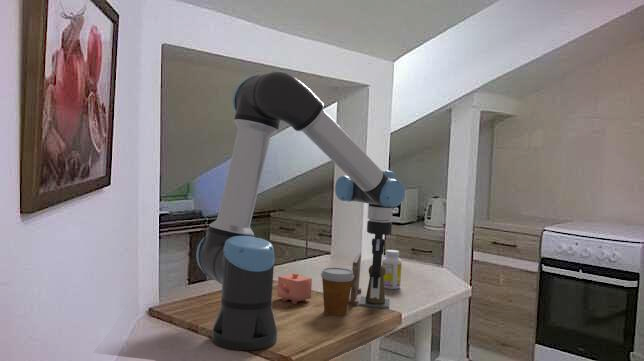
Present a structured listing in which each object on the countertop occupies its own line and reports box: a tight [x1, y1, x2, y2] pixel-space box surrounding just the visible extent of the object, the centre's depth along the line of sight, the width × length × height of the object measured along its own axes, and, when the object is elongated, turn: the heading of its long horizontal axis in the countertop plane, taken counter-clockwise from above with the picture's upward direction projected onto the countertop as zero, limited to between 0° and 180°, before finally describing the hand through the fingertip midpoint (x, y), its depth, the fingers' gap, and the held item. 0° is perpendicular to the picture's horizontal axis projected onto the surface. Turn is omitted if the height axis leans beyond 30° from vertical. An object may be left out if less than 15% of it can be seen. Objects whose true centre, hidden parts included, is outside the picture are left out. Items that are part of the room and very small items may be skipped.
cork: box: [365, 264, 386, 303], centre depth 161 cm, size 6×6×11 cm
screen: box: [348, 252, 362, 307], centre depth 166 cm, size 3×18×13 cm, turn 172°
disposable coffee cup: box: [320, 267, 354, 317], centre depth 149 cm, size 10×10×12 cm
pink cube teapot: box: [276, 272, 313, 305], centre depth 159 cm, size 8×12×8 cm, turn 143°
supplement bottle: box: [381, 249, 402, 290], centre depth 184 cm, size 7×7×13 cm
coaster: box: [358, 295, 390, 309], centre depth 162 cm, size 9×9×1 cm
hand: (375, 295), depth 162 cm, fingers open, 5 cm apart
